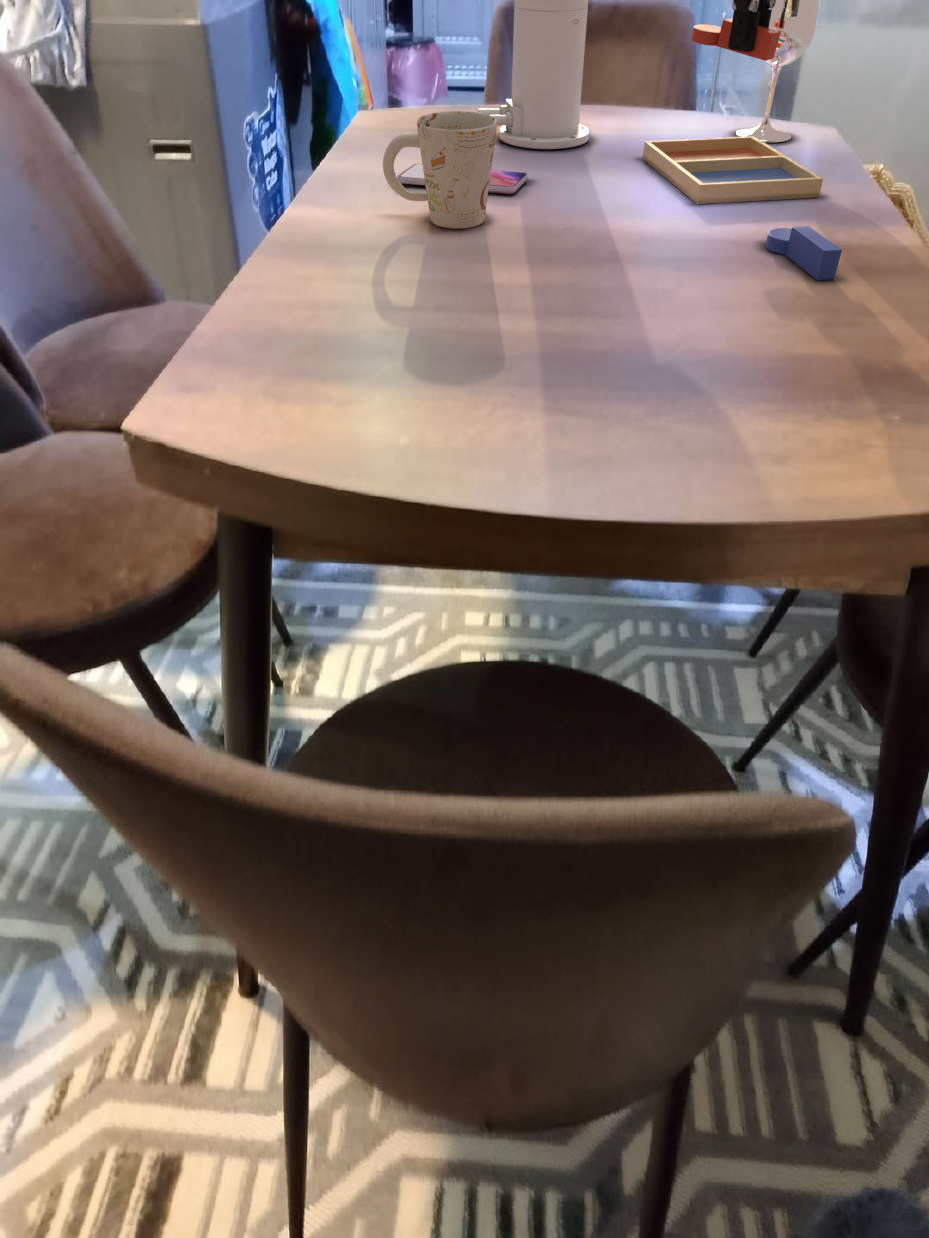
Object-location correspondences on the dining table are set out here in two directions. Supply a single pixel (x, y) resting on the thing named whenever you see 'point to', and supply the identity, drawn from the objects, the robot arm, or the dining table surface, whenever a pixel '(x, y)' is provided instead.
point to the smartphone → (498, 182)
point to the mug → (449, 165)
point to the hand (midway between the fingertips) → (746, 48)
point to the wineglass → (785, 55)
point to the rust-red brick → (720, 37)
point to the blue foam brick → (806, 250)
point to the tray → (730, 170)
